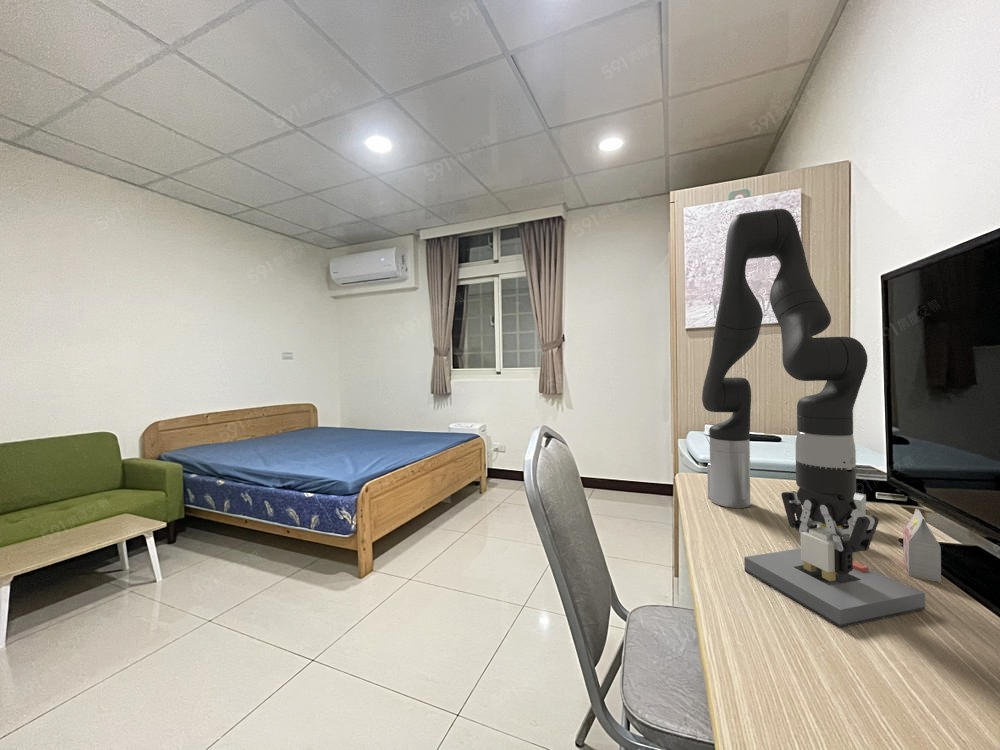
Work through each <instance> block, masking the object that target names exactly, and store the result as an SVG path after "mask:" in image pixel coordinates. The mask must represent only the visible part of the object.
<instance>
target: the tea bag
mask: <svg viewBox="0 0 1000 750" xmlns="http://www.w3.org/2000/svg"><path fill="white" fill-rule="evenodd" d="M902 531H903V533H902V536H903V537H902V538H903V543H902V544H903V549H902V550H903V563H904V566H905V568H906V571H907V574H908V576H909V577H914V578H918V579H922V578H923V579H922V580H926V579H929V580H928V581H931V580H932V582H935V581H938V582H937V583H940V582H941V583H942V555H941V554H942V549H941V548H942V547H941V545H940V543H939V542H938V540H937V538H936V537H935V535H934V534H933V531H931V529H930V527H929V526H928V524H927V522H926V520H925V517H924V515H923V514H922V513H921V510H920V509H918V508H915V510H914V512H913V513H912V516H911V518H910V519H909V520H908V522H907V523H906V524H905V526H904V527H903V528H902Z"/></svg>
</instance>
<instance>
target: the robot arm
mask: <svg viewBox="0 0 1000 750" xmlns="http://www.w3.org/2000/svg"><path fill="white" fill-rule="evenodd" d="M801 239H802V238H801V235H800V231H799V227H798V225H797V223H796V220H795V218H794V215H793V214H792V213H791V212H790V211H789V210H787V209H785V208H773V209H764V210H758V211H750V212H743V213H738V214H736V215H735V216H733V218H732V219H731V221H730V223H729V225H728V229H727V235H726V241H725V250H724V251H725V252H724V253H725V254H724V265H723V276H722V277H723V278H722V286H721V293H720V297H719V303H718V304H719V305H718V308H717V313H716V319H715V325H714V332H713V340H712V347H711V354H710V358H709V364H708V367H707V370H706V375H705V379H704V383H703V387H702V393H701V395H702V396H701V402H702V405H703V408H704V409H705V410H706V411H707V412H711V413H731V415H730V416H729V418H728V419H726V420H724V421H722V422H720V423H717V424H716V423H715V424H713V425H710V427H709V433H708V434H709V462H708V463H707V466H706V469H707V474H706V475H707V499H709V500H710V501H711V502H712V503H714V504H716V505H719V506H722V507H726V508H732V509H734V508H736V509H744V508H748V507H751V449H750V448H751V445H750V444H751V442H750V436H751V435H750V432H751V409H752V389H751V384H750V382H749V380H748V379H747V378H745V377H726V375H727V374H728V372H729V371H730V369H731V368H732V367H733V365H735V364H736V363H737V362H739V360H740V359H742V358H743V357H744V356H745V355H746V354H747V353H748V352H749V351H750V350H751V349H752V348H753V347H754V346H755V344H756V343H757V340H758V338H759V334H760V332H761V331H760V330H761V326H762V322H763V317H764V314H763V309H762V306H761V304H760V302H759V300H758V298H757V297H756V295H755V294H754V292H753V291H752V289H751V287H750V285H749V283H748V280H747V277H746V266H747V261H748V260H751V259H758V258H768V257H769V258H770V257H776V259H777V260H778V261H779V264H780V265H779V266H780V267H779V269H778V272H777V274H776V276H775V278H774V281H773V283H772V286H771V288H770V292H769V302H770V306H771V309H772V312H773V313H774V315H775V319H776V320H777V322H778V325H779V327H780V331H781V343H782V352H781V353H782V356H781V357H782V366H783V368H784V370H785V371H786V373H787V374H788V375H789V376H790V377H792V378H793V379H795V380H797V381H802V382H804V381H805V382H817V381H818V382H820V381H821V382H823V381H824V382H825V381H826V383H825V385H824V386H823V389H822V390H821V391H820V392H818V393H815V394H812V395H811V394H810V395H807V396H804V397H801V398H800V399H798V401H797V404H796V426H797V427H796V431H797V433H796V439H795V484H796V485H797V487H798V490H797V491H795V490H794V491H784V492H781V495H780V496H781V499H782V503H783V506H784V510H785V513H786V517H787V522H788V525H789V528H792V529H795V530H797V531H798V533H799V535H800V536H801V532H808V531H809V529H813V528H819V525H820V524H822V523H823V524H825V525H826V526H827V530H828V533H829V534H830V535H832V538H833V541H834V544H835V547H836V549H835V550H834V553H835V572H836V573H838V574H840V575H842V574H848V573H849V572H850V571H852V569H853V561H854V559H853V558H854V557H853V554H854V553H857V552H864V551H868V550H869V548H870V545H871V543H872V539H874V538H873V537H874V535H875V532H876V530H877V528H878V525H879V521H880V520H879V518H878V517H877V516H876V515H867V514H864V513H863V512H861V511H859V510H857V506H856V504H855V502H854V495H855V493H857V468H856V466H857V465H856V464H857V454H856V451H857V450H856V444H855V438H854V406H855V404H856V401H857V399H858V398H857V397H858V395H859V391H860V388H861V386H862V382H863V379H864V377H865V375H866V371H867V367H868V354H867V350H866V348H865V346H864V344H862V343H861V342H860V341H859V340H858V339H856V338H854V337H851V336H823V337H822V336H821V337H814V336H817V335H819V334H820V333H823V332H824V331H826V330H827V329H828V327H830V324H831V322H832V316H831V314H830V313H831V312H830V311H829V309H828V307H827V305H826V304H825V302H824V299H823V298H822V296H821V294H820V292H819V290H818V289H817V287H816V285H815V282H814V280H813V278H812V275H811V272H810V270H809V265H808V261H807V257H806V254H805V250H804V245H803V241H802V240H801ZM851 517H853V522H852V524H853V525H855V526H854V529H852V525H851V522H850V518H851ZM837 526H841V528H837ZM842 537H843V538H842ZM843 540H844V541H843Z"/></svg>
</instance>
